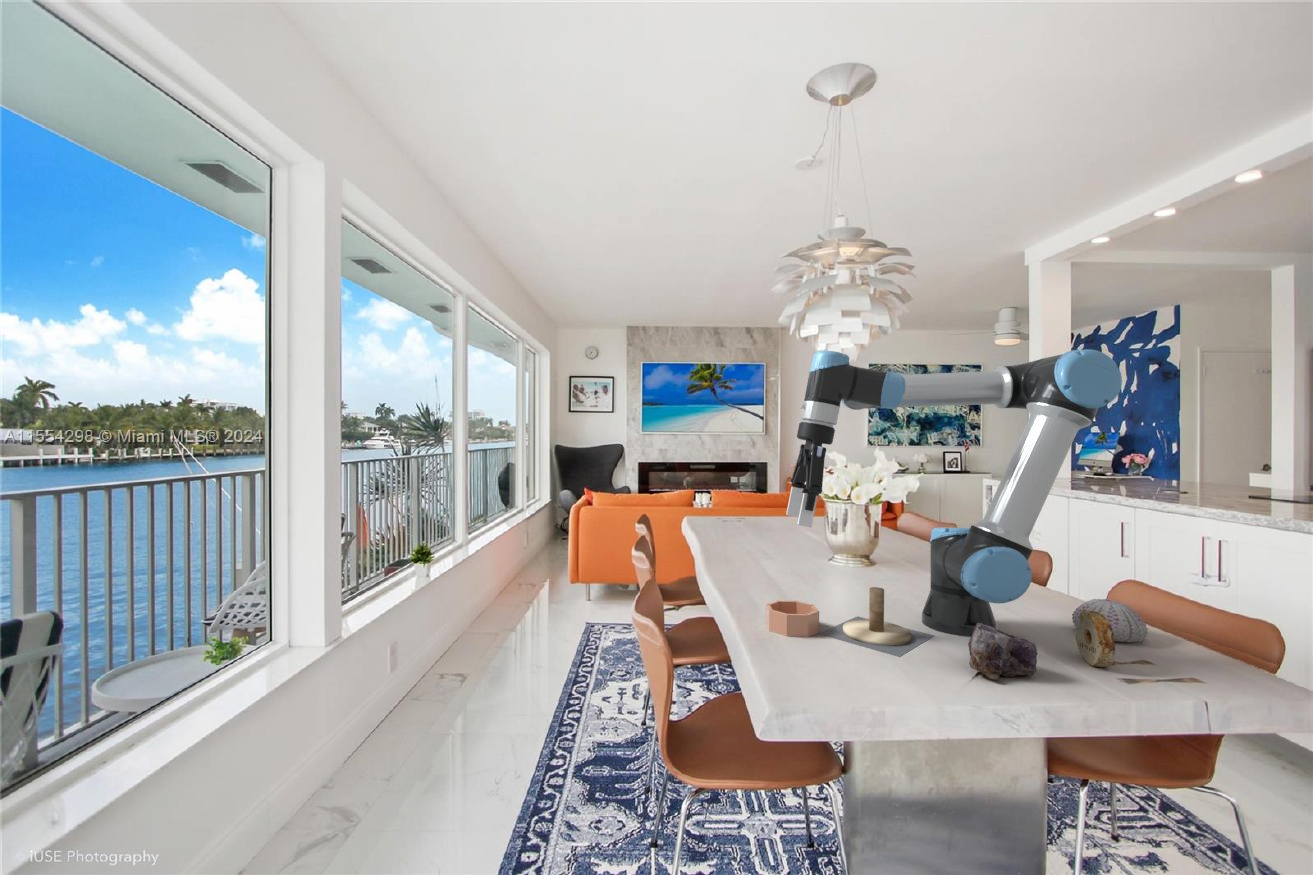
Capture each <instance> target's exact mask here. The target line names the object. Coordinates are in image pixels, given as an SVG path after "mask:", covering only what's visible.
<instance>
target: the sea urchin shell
mask: <svg viewBox="0 0 1313 875" xmlns="http://www.w3.org/2000/svg"><path fill="white" fill-rule="evenodd" d="M1082 611H1095V612H1098V613H1100V614H1102V615H1103V616H1105V617H1106V618H1107V619H1108V621H1109V622H1110V625H1111V627H1112V630H1113V635H1114V642H1125V643H1139V642H1143V641H1144V640H1146V638H1147V637H1148V635H1149V631H1148V630H1149V628H1148V627H1147V623H1145V621H1144V619H1143V618H1142V616H1141V615H1140V614H1139V613H1137V612H1136V610H1134V609H1133V608H1132V607H1130V606H1129V605H1127V604H1125V603H1123V602H1120V601H1118V600H1117V601H1116V600H1113V599H1108V598H1101V599H1100V598H1094V599H1090V600H1087V601H1085V602H1083V603H1082V604H1080V605H1079V606H1078V607H1076V608H1075V610H1074V611H1073V613H1071V615H1072V617H1071V620H1072V623H1073V626H1074V628H1076V631H1077V630H1079V625H1080V624H1079V620H1080V619H1079V618H1080V617H1079V615H1080V613H1081V612H1082Z"/></svg>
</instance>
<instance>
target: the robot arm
mask: <svg viewBox="0 0 1313 875" xmlns="http://www.w3.org/2000/svg"><path fill="white" fill-rule="evenodd" d="M1122 384H1123V376H1122V373H1121V370H1120V369H1119V367H1118V366H1117V363H1116V362H1115V360H1114V359H1112V357H1110V356H1109V355H1107V354H1106V353H1104V352H1102V351H1099V350H1096V349H1087V348H1086V349H1073V350H1069V351H1066V352H1064V353H1061V354H1057V355H1053V356H1048V357H1044V358H1039V359H1037V360H1036V359H1035V360H1033V361H1029V362H1025V363H1021V364H1015V365H1001V366H998V367H997V368H995V370H989V371H965V372H943V373H941V372H940V373H939V372H938V373H919V374H916V373H915V374H898V373H894V372H891V371H885V370H884V371H883V370H877V369H872V368H865V367H859V366H854V365H852V364H850V356H849V355H848V354H846V353H843V352H840V351H834V350H820V351H816V352H815V353H814V355H813V357H812V362H811V365H810V368H809V372H808V378H807V383H806V389H805V393H804V394H805V395H804V400H803V404H801V405H800V406H799V409H800V410H801V416H800V419H801V420H802V421H800V423H799V424H798V428H797V433H796V438H797V439H799V440H801V441H805V443H804V444H801V445H800V447H799V448H800V449H799V453H798V456H797V460H796V462H795V465H794V469H793V473H792V476H791V479H790V484H791V489H790V494H789V499H788V504H787V509H786V516H789V517H793V518H798V520H797V525H798V526H802V527H805V528H806V527H807V528H812V527H813V522H814V521H813V520H814V516H815V512H816V507H817V501H818V497H819V495H822V493H823V482H824V471H825V470H824V469H825V458H826V453H827V447H824V446H823V445H832V444H833V442H834V437H835V432H836V429H835V428H834V426H836V425H837V424H838V420H839V413H840V408H841V407H840V406H841V403H842V404H843V405H844V407H846V408H848V409H850V410H855V411H856V410H857V411H858V410H864V409H889V410H895V409H897V408H911V407H913V408H914V407H918V408H919V407H945V406H948V407H950V406H951V407H952V406H974V405H975V406H976V405H979V406H980V405H981V406H982V405H995V406H996V407H997V408H999V409H1023V410H1024V409H1025V410H1027V411H1028V412H1029V415H1030V416H1029V418H1028V421H1027V423H1026V425H1025V427H1024V428H1023V429H1024V430H1023V432H1022V434H1021V436H1020V438H1019V441H1018V443H1017V444H1016V447H1015V449H1014V452H1013V454H1012V456H1011V458H1010V460H1009V462H1008V464H1007V466H1006V469H1005V471H1004V474H1003V476H1002V478H1001V479H1000V481H999V485H998V486H997V488H996V491H995V493H994V495H993V497H992V500H991V502H990V503H989V506H988V508H987V511H986V513H985V515H984V516H983V519H982V520H980V521H977V522H974V523H971V526H970V527H951V526H950V527H947V526H946V527H944V526H943V527H942V526H939V527H934V528H933V529H932V530H931V532H930V540H929V544H930V590H929V593H928V596H927V599H926V601H925V604H924V606H923V610H922V612H921V613H922V614H921V623H922V624H923V625H924V626H925V627H928V628H929V629H932V630H934V631H937V632H940V633H942V634H943V633H944V634H948V635H952V636H958V637H965V638H967V637H968V638H971V636H972V632H973V630H974V627H975V626H976V624H977V623H982V624H984V625H988V626H991V627H993V628H996V629H997V623H996V618H995V616H994V613H993V609H992V608H991V604H1006V603H1010V602H1013V601H1015V600H1018V599H1019V598H1020V597H1022V596H1023V595H1024V594H1025V593H1026V592H1027V591H1028V589H1029V587H1030V585H1031V583H1032V580H1033V579H1032V577H1033V572H1032V571H1033V570H1032V569H1031V566H1030V563H1029V559H1030V557H1031V555H1032V552H1033V551H1034V548H1033V545H1032V543H1031V541H1030V535H1031V533H1032V531H1033V529H1034V526H1035V524H1036V522H1037V521H1038V519H1039V518H1038V517H1039V516H1040V514H1041V511H1042V509H1043V507H1044V505H1045V503H1046V500H1047V498H1048V496H1049V494H1050V493H1051V489H1052V487H1053V485H1054V483H1055V481H1056V479H1057V477H1058V474H1059V472H1060V470H1061V468H1062V466H1063V464H1064V461H1065V459H1066V457H1067V455H1068V453H1069V451H1070V449H1071V446H1072V444H1073V442H1074V440H1075V438H1076V435H1077V434H1078V432H1079V430H1081V429H1084V428H1087V427H1090V426H1091V425H1092V423H1093V421H1094V418H1095V416H1096V414H1097V412H1098V410H1099V408H1102V407H1105V406H1107V405H1108V404H1110V403H1112V402H1113V401H1114V400H1116V398H1117V397H1118V395H1119V393H1120V392H1121V389H1122ZM990 603H991V604H990Z"/></svg>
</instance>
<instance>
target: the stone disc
mask: <svg viewBox="0 0 1313 875" xmlns="http://www.w3.org/2000/svg"><path fill="white" fill-rule="evenodd" d="M1079 617H1080V618H1079V619H1080V620H1079V624H1080V625H1079V630H1077V629H1076V631H1075V632H1074V639H1075V642H1076V645H1077V649H1078V651H1079V653H1080V655H1081V657H1082V658H1083V659H1084V661H1085V662H1086V663H1088V664H1089V666H1092V667H1098V668H1102V667H1103V668H1106V667H1110V666H1112V664H1114V662H1115V658H1116V647H1115V646H1116V645H1115V642H1116V641H1114V635H1113V630H1112V627H1111V625H1110V622H1109V621H1108V619H1107V618H1106V617H1105V616H1103V615H1102V614H1100V613H1098V612H1095V611H1082V612H1081V613H1080V615H1079Z"/></svg>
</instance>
